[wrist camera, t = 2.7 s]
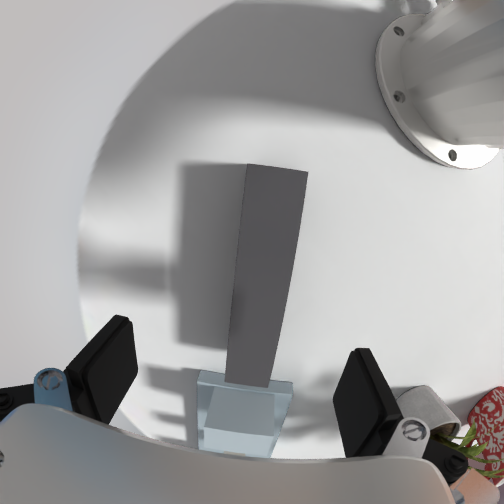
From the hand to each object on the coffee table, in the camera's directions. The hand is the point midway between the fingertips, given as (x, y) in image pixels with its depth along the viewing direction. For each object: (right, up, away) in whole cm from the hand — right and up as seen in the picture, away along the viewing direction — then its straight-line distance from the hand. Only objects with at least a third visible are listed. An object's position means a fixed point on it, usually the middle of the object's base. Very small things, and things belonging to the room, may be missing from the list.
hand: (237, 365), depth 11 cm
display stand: (-1, -14, +14) cm, 19 cm away
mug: (+33, -18, +13) cm, 40 cm away
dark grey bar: (+1, +3, +8) cm, 9 cm away
